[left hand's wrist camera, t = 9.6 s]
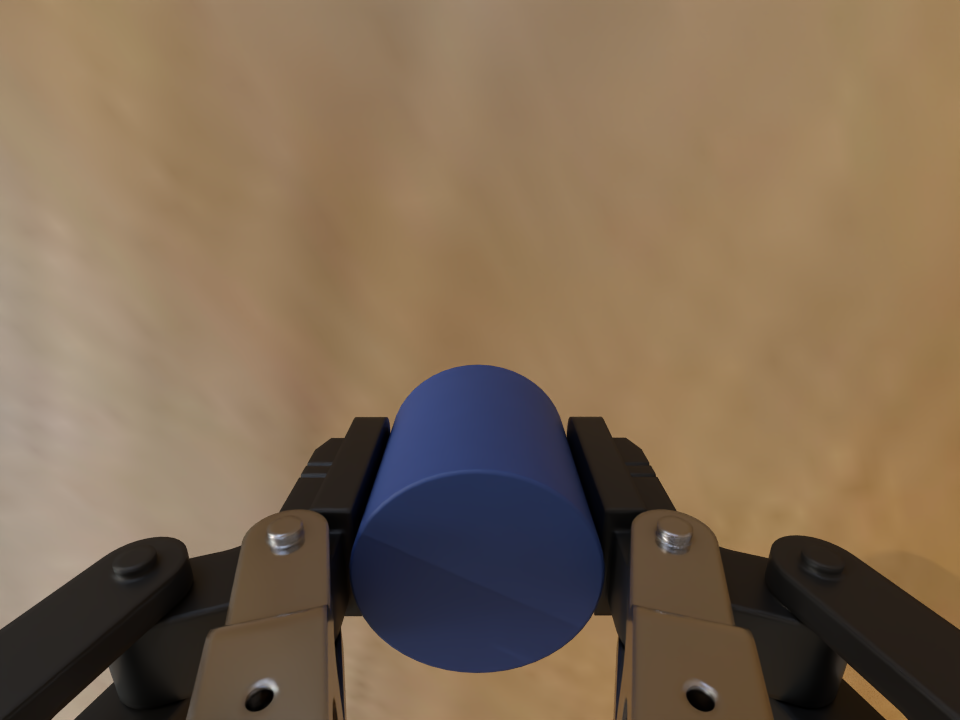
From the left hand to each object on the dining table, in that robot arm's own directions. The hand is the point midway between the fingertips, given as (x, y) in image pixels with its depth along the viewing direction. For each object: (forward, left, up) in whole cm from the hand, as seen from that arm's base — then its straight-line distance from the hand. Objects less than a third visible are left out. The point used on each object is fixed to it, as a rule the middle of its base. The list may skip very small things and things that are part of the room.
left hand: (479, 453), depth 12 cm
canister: (0, 0, 0) cm, 0 cm away
